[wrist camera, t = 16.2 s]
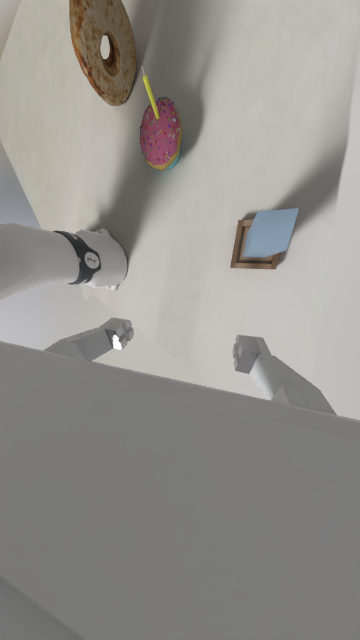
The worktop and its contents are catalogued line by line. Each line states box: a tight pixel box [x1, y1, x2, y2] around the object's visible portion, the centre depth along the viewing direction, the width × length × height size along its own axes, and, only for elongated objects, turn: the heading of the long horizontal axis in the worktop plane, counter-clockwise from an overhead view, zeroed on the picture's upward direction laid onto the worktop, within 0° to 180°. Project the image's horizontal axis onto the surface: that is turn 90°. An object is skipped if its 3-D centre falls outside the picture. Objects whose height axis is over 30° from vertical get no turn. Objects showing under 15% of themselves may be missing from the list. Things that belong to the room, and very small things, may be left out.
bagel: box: [69, 0, 136, 106], centre depth 23 cm, size 10×4×10 cm, turn 128°
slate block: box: [243, 208, 299, 257], centre depth 22 cm, size 4×4×12 cm
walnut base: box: [230, 219, 281, 269], centre depth 28 cm, size 9×9×2 cm
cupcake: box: [140, 65, 182, 170], centre depth 23 cm, size 9×8×12 cm
